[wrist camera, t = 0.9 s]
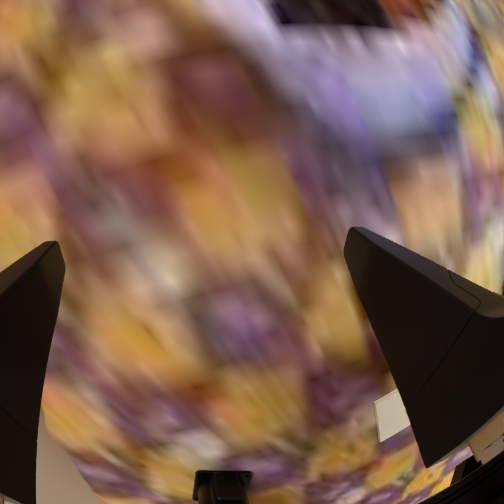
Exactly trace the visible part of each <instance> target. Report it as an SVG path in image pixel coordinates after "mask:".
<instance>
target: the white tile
mask: <svg viewBox="0 0 504 504" xmlns="http://www.w3.org/2000/svg"><path fill="white" fill-rule="evenodd" d="M373 403H374V410H375V417H376V424H377V432H378V440H379V441H380V442H382V441H384V440H386V439H387V438H389V437H391V436H392V435H394V434H396V433H398V432H399V431H401V430H403V429H404V428H406V427H407V426H409V425H411V424H410V421H409V418H408V416H407V413H406V410H405V407H404V404H403V402H402V399H401V396H400V394H399V391H398V389H395V390H393V391H392V392H390V393H388V394H386V395H385V396H383V397H381V398H379V399H378V400H376V401H374V402H373Z"/></svg>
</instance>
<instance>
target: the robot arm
mask: <svg viewBox="0 0 504 504" xmlns="http://www.w3.org/2000/svg"><path fill="white" fill-rule="evenodd" d="M344 258H345V260H346V263H347V266H348V269H349V272H350V275H351V278H352V281H353V283H354V286H355V289H356V292H357V295H358V297H359V299H360V301H361V304H362V306H363V308H364V310H365V312H366V315H367V317H368V319H369V321H370V324H371V326H372V328H373V331H374V333H375V335H376V337H377V340H378V342H379V344H380V347H381V349H382V352H383V354H384V356H385V359H386V361H387V364H388V366H389V369H390V371H391V374H392V376H393V379H394V381H395V384H396V386H397V389H398V391H399V394H400V396H401V399H402V402H403V404H404V407H405V410H406V413H407V416H408V418H409V421H410V424H411V427H412V429H413V432H414V435H415V438H416V441H417V444H418V447H419V450H420V453H421V456H422V459H423V462H424V465H425V467H426V469H427V468H429V467H431V466H433V465H435V464H437V463H439V462H441V461H443V460H445V459H447V458H448V457H450V456H452V455H454V454H456V453H457V452H459V451H461V450H463V449H464V448H466V447H468V446H469V447H470V449H471V451H472V453H473V455H472V456H471V457H469V458H468V459H466V460H465V461H463V462H462V463H460V464H459V465H457V466H456V468H455V471H454V474H453V478H452V481H451V484H450V486H449V487H447V488H446V489H444V490H442V491H440V492H438V493H437V494H435V495H433V496H431V497H429V498H427V499H425V500H424V501H422V502H420V503H418V504H504V298H503V297H501V296H499V295H497V294H495V293H493V292H491V291H489V290H487V289H485V288H483V287H481V286H479V285H477V284H475V283H473V282H471V281H469V280H467V279H465V278H463V277H462V276H460V275H458V274H456V273H454V272H452V271H450V270H447V269H446V268H444V267H443V266H441V265H439V264H437V263H435V262H433V261H431V260H429V259H427V258H425V257H423V256H421V255H419V254H417V253H415V252H413V251H411V250H409V249H407V248H405V247H403V246H401V245H399V244H397V243H395V242H393V241H391V240H389V239H387V238H385V237H382V236H380V235H378V234H376V233H374V232H372V231H370V230H368V229H365V228H363V227H351V228H350V229H349V230H348V234H347V238H346V242H345V246H344ZM64 275H65V262H64V259H63V256H62V252H61V249H60V246H59V243H58V242H57V241H46V242H44V243H42V244H41V245H39V246H38V247H36V248H35V249H33V250H32V251H30V252H29V253H27V254H26V255H24V256H23V257H22V258H20V259H19V260H17V261H16V262H14V263H13V264H12V265H10V266H9V267H7V268H6V269H5V270H3V271H2V272H0V504H4V501H8V502H10V503H14V504H36V455H37V437H38V425H39V416H40V407H41V399H42V392H43V385H44V379H45V373H46V367H47V362H48V357H49V352H50V347H51V342H52V337H53V333H54V329H55V324H56V320H57V316H58V311H59V305H60V299H61V293H62V287H63V281H64ZM251 476H252V475H251V472H248V471H246V472H225V471H197V472H196V474H195V481H194V489H193V500H195V501H199V504H249V501H248V497H247V493H246V491H247V488H248V485H249V482H250V479H251Z"/></svg>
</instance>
